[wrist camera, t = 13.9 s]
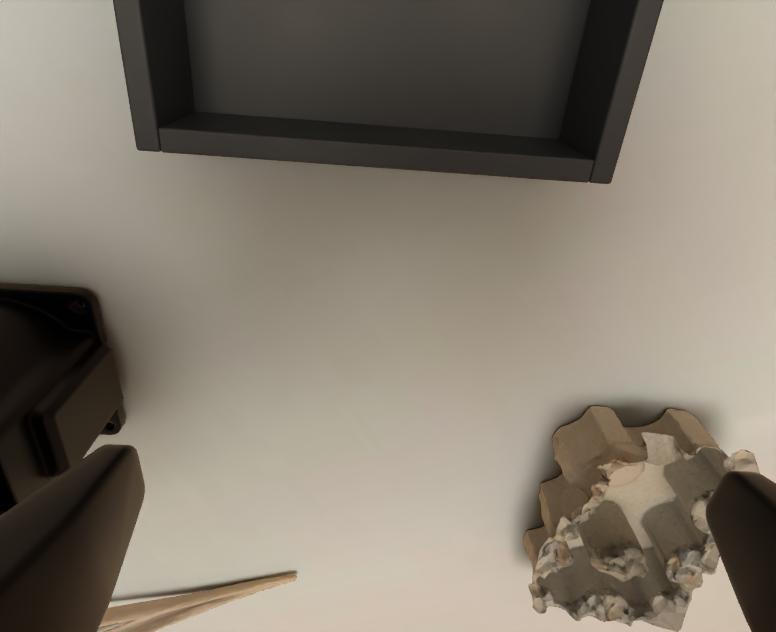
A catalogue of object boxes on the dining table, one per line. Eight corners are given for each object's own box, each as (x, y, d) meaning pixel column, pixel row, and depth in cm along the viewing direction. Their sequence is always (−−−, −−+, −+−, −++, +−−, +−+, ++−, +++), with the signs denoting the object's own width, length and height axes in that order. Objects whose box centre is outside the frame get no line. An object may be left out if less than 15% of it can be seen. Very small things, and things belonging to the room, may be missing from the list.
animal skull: (30, 655, 29) (10, 693, 28) (-23, 608, 27) (-48, 646, 25) (313, 578, 28) (311, 613, 27) (281, 523, 26) (277, 557, 24)
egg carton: (562, 394, 21) (600, 467, 17) (733, 408, 21) (804, 481, 18) (504, 559, 26) (525, 642, 22) (644, 567, 27) (686, 649, 23)
